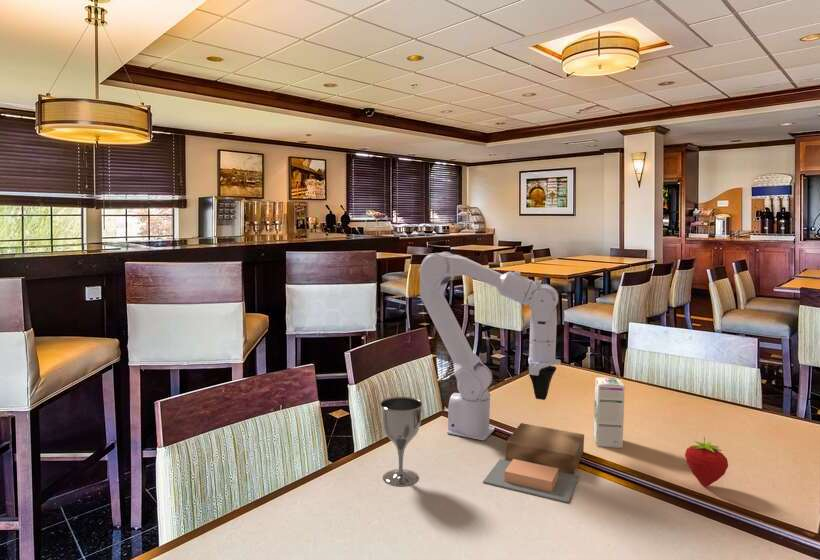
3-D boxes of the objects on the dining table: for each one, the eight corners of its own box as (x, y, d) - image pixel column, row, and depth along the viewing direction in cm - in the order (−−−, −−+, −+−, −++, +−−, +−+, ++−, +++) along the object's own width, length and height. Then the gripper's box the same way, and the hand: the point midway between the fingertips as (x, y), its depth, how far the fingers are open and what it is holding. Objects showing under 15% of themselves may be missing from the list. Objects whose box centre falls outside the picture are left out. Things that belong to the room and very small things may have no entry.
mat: (483, 482, 102) (483, 481, 102) (500, 460, 111) (500, 458, 111) (568, 503, 95) (568, 501, 95) (578, 477, 104) (578, 475, 104)
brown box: (505, 460, 111) (505, 442, 111) (520, 439, 122) (521, 423, 122) (573, 475, 105) (574, 455, 105) (583, 452, 116) (584, 434, 115)
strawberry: (716, 499, 96) (720, 446, 95) (676, 482, 103) (679, 432, 102) (732, 490, 100) (736, 439, 99) (693, 474, 106) (696, 426, 105)
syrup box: (623, 448, 118) (626, 385, 116) (595, 446, 119) (598, 383, 117) (618, 438, 123) (621, 378, 122) (591, 436, 125) (594, 376, 123)
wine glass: (391, 491, 98) (391, 413, 97) (373, 473, 105) (374, 400, 104) (428, 481, 102) (429, 406, 100) (409, 465, 109) (410, 394, 107)
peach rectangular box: (513, 458, 107) (512, 468, 107) (504, 471, 102) (504, 481, 102) (558, 468, 103) (558, 478, 103) (551, 481, 98) (551, 492, 98)
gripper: (553, 348, 110) (551, 411, 111) (567, 335, 123) (565, 392, 124) (520, 344, 113) (518, 405, 115) (537, 332, 126) (535, 387, 127)
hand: (540, 398), depth 119 cm, fingers closed
